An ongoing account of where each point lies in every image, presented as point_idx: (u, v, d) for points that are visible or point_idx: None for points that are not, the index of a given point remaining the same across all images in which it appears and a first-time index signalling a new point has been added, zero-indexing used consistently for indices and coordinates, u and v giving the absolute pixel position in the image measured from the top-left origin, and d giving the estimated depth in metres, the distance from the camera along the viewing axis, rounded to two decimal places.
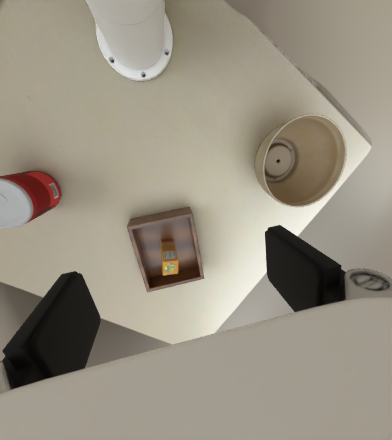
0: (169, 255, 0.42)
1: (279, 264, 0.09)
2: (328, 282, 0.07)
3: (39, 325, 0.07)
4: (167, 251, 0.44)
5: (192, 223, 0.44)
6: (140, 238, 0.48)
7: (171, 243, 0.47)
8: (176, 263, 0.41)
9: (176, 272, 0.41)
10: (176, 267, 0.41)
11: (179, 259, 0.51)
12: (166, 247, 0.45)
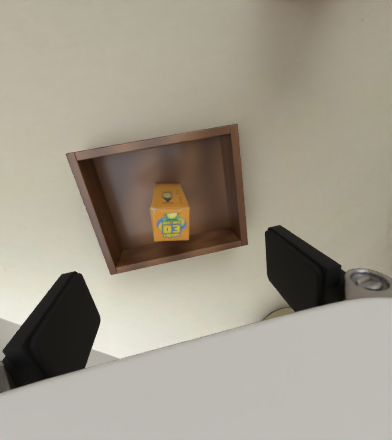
0: None
1: (279, 264, 0.09)
2: (328, 282, 0.07)
3: (39, 325, 0.07)
4: None
5: (229, 246, 0.25)
6: (186, 144, 0.25)
7: None
8: (180, 237, 0.18)
9: (157, 238, 0.18)
10: (171, 237, 0.18)
11: (138, 217, 0.27)
12: None
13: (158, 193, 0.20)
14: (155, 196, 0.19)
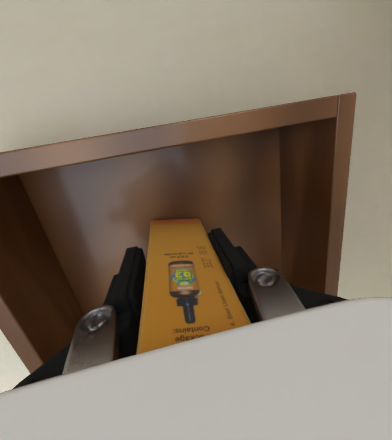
0: None
1: None
2: (237, 279, 0.08)
3: (129, 281, 0.08)
4: None
5: None
6: (213, 143, 0.12)
7: None
8: None
9: None
10: None
11: None
12: None
13: (159, 268, 0.08)
14: (150, 289, 0.07)
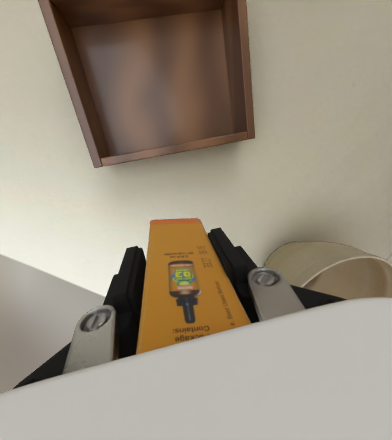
0: None
1: None
2: (237, 279, 0.08)
3: (129, 281, 0.08)
4: None
5: (234, 138, 0.21)
6: (182, 17, 0.21)
7: None
8: None
9: None
10: None
11: (127, 113, 0.23)
12: None
13: (159, 267, 0.08)
14: (150, 289, 0.07)
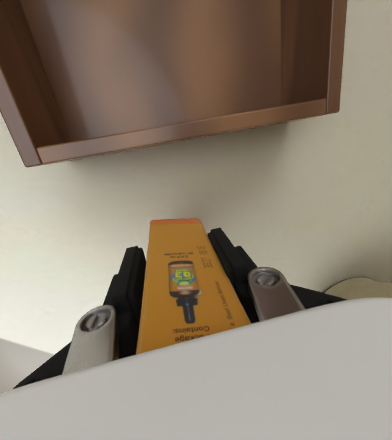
0: None
1: None
2: (237, 279, 0.08)
3: (129, 281, 0.08)
4: None
5: (302, 110, 0.11)
6: None
7: None
8: None
9: None
10: None
11: (100, 69, 0.13)
12: None
13: (159, 268, 0.08)
14: (150, 289, 0.07)
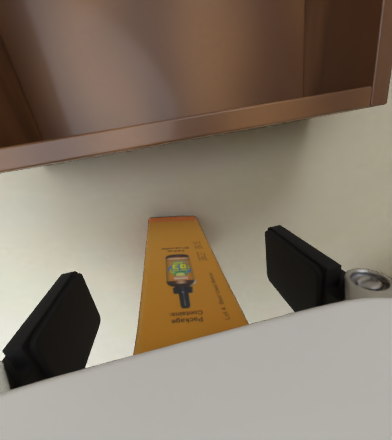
0: None
1: (279, 264, 0.09)
2: (328, 282, 0.07)
3: (39, 325, 0.07)
4: None
5: (340, 102, 0.09)
6: None
7: None
8: None
9: None
10: None
11: (79, 51, 0.10)
12: None
13: (157, 260, 0.09)
14: (149, 279, 0.08)
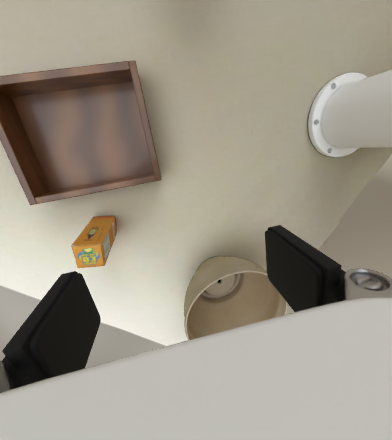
0: (106, 246, 0.27)
1: (279, 264, 0.09)
2: (328, 282, 0.07)
3: (39, 325, 0.07)
4: (108, 238, 0.28)
5: (144, 180, 0.28)
6: (102, 87, 0.27)
7: (114, 235, 0.32)
8: (97, 264, 0.25)
9: (79, 265, 0.25)
10: (90, 265, 0.25)
11: (62, 158, 0.29)
12: (111, 232, 0.30)
13: (87, 229, 0.28)
14: (82, 233, 0.26)
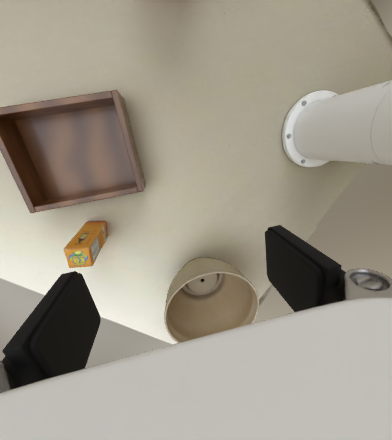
0: (95, 249, 0.31)
1: (279, 264, 0.10)
2: (328, 282, 0.07)
3: (39, 325, 0.07)
4: (98, 242, 0.32)
5: (128, 191, 0.32)
6: (91, 110, 0.31)
7: (104, 238, 0.36)
8: (86, 264, 0.29)
9: (71, 265, 0.29)
10: (79, 265, 0.29)
11: (58, 171, 0.33)
12: (101, 236, 0.34)
13: (79, 234, 0.32)
14: (74, 238, 0.31)
